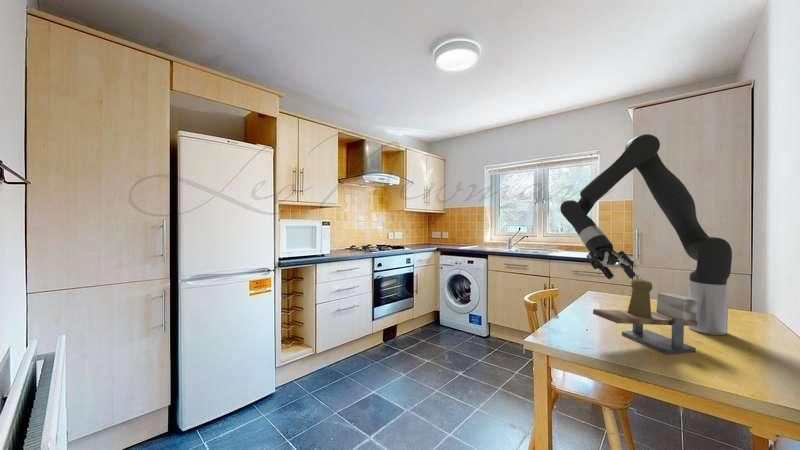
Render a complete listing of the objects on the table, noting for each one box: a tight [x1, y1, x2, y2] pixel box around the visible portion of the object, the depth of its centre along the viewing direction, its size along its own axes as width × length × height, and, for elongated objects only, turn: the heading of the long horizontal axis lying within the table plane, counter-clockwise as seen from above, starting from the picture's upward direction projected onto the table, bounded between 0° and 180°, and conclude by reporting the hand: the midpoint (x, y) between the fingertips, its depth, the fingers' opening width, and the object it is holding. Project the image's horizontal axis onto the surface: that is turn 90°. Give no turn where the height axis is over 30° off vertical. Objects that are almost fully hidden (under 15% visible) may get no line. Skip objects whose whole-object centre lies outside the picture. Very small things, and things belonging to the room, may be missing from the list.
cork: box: [626, 279, 653, 318], centre depth 95 cm, size 6×6×11 cm
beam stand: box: [621, 317, 697, 355], centre depth 96 cm, size 10×15×10 cm, turn 9°
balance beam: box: [592, 292, 697, 327], centre depth 96 cm, size 28×11×8 cm, turn 99°
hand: (622, 277), depth 102 cm, fingers open, 8 cm apart
